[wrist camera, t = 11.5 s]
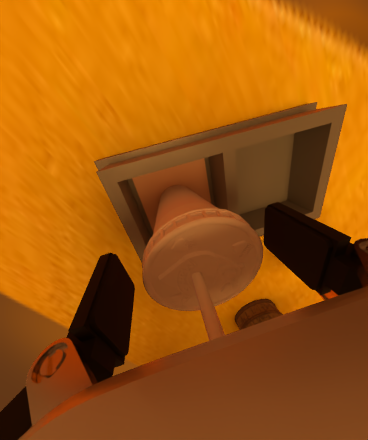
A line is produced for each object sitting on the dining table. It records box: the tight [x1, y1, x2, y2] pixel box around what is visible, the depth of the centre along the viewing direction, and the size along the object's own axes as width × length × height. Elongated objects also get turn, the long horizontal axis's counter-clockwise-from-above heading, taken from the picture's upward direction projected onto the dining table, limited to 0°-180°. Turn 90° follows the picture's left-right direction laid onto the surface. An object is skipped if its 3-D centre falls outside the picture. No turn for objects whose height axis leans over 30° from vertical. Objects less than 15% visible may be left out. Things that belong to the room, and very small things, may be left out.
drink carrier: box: [94, 102, 347, 262], centre depth 16 cm, size 11×21×4 cm, turn 103°
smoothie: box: [142, 185, 263, 340], centre depth 10 cm, size 6×6×14 cm
